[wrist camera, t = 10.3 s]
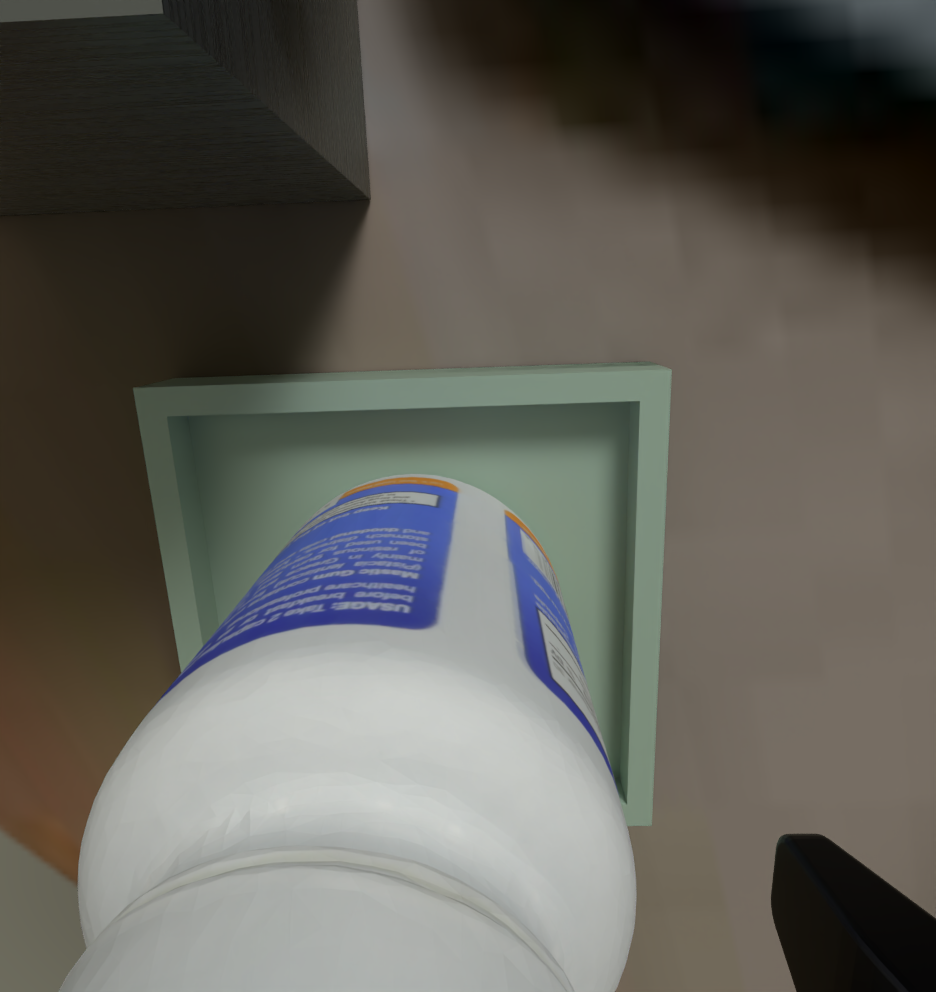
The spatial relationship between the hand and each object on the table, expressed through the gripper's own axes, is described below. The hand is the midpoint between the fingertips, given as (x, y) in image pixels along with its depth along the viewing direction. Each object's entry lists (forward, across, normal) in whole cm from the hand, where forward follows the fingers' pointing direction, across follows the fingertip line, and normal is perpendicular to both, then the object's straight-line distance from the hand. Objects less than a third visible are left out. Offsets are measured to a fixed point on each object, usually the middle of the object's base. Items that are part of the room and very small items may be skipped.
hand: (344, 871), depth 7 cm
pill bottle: (+7, 0, 0) cm, 7 cm away
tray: (+7, 0, 0) cm, 7 cm away
